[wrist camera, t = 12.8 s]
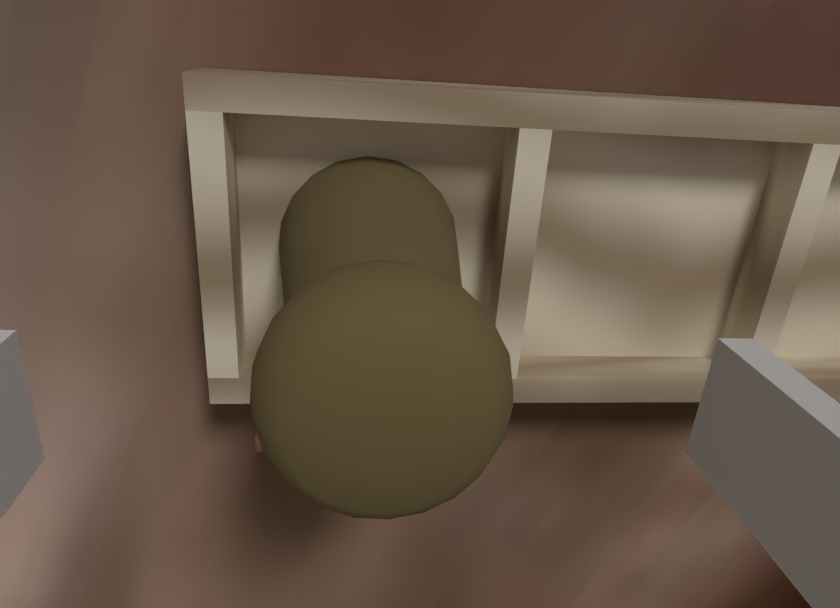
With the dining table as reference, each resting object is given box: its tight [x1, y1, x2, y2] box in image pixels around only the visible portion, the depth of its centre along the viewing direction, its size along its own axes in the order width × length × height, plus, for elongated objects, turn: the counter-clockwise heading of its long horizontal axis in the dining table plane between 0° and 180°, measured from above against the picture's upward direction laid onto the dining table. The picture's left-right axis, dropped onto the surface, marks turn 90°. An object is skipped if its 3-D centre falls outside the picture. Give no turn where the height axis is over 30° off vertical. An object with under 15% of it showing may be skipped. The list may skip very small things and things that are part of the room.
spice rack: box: [182, 68, 840, 452], centre depth 21 cm, size 11×30×4 cm, turn 87°
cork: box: [250, 156, 514, 519], centre depth 16 cm, size 6×6×11 cm
